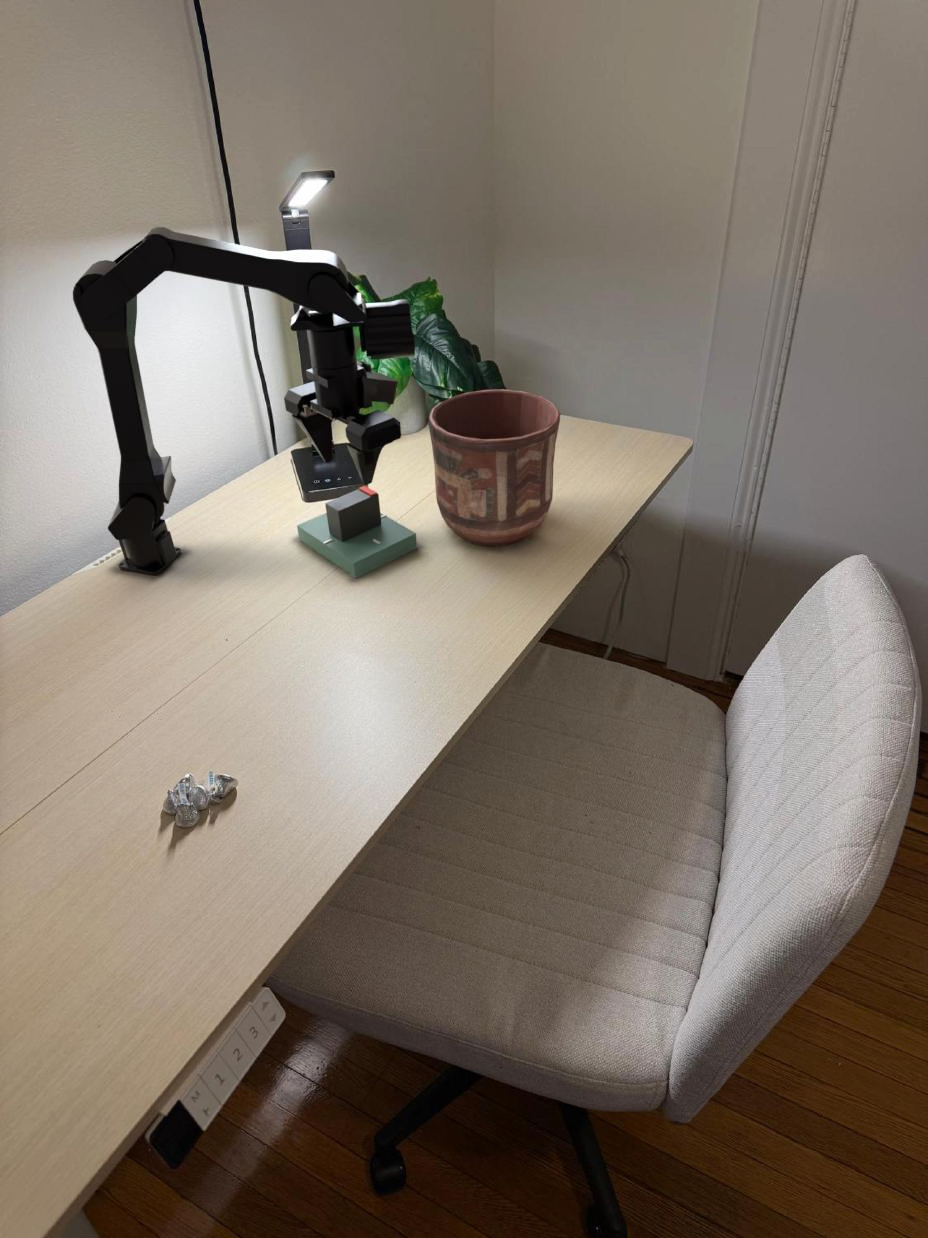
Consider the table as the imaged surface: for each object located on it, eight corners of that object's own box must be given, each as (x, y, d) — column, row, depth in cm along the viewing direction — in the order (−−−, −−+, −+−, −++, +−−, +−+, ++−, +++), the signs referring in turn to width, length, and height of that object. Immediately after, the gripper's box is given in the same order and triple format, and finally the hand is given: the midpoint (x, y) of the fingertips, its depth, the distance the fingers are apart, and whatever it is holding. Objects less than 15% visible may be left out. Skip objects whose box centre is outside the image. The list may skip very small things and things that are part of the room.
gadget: (342, 542, 115) (338, 509, 112) (329, 533, 117) (324, 501, 114) (381, 524, 119) (378, 492, 116) (368, 516, 121) (364, 484, 118)
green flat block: (298, 540, 121) (295, 524, 119) (359, 513, 127) (357, 497, 125) (355, 578, 112) (353, 562, 111) (417, 547, 118) (416, 532, 117)
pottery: (518, 571, 113) (520, 451, 102) (413, 538, 120) (404, 423, 109) (573, 514, 125) (580, 401, 114) (474, 487, 132) (472, 379, 121)
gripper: (430, 362, 102) (436, 475, 112) (343, 329, 113) (355, 434, 123) (358, 387, 96) (370, 504, 106) (273, 349, 108) (292, 458, 117)
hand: (347, 472), depth 113 cm, fingers open, 9 cm apart
